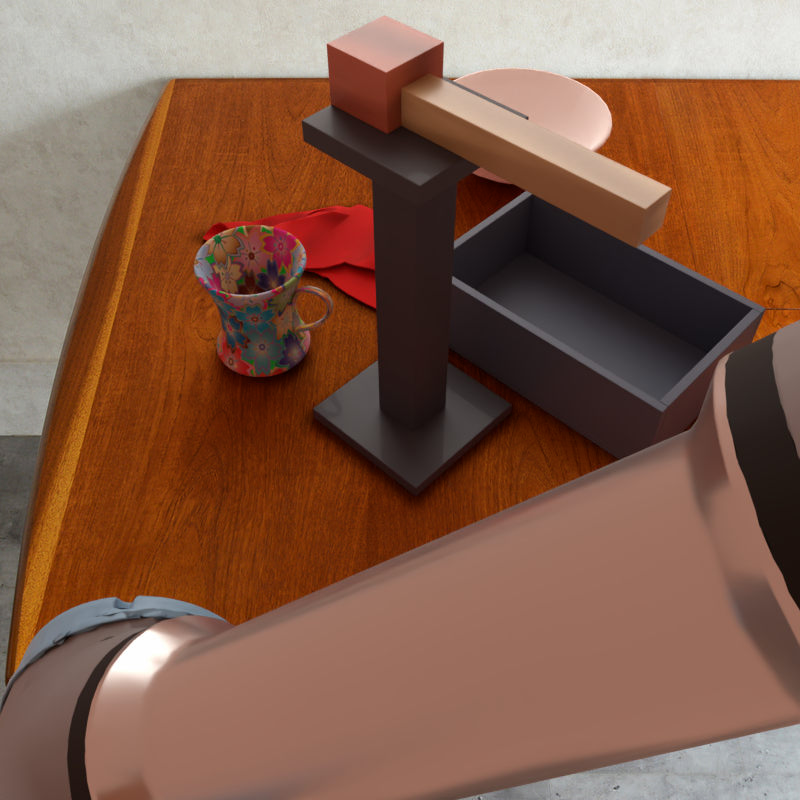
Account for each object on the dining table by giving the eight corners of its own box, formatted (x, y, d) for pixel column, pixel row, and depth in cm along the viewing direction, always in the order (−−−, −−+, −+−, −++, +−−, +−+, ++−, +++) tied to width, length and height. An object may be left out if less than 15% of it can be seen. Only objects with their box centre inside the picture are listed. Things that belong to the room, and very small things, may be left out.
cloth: (479, 246, 92) (481, 228, 90) (420, 330, 83) (420, 312, 82) (265, 178, 99) (262, 161, 98) (192, 249, 91) (188, 231, 90)
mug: (194, 369, 80) (171, 279, 72) (244, 304, 86) (228, 214, 78) (315, 407, 77) (304, 318, 69) (358, 337, 83) (354, 247, 75)
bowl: (392, 150, 103) (392, 100, 98) (527, 99, 110) (533, 50, 105) (497, 241, 92) (503, 190, 87) (640, 178, 99) (652, 127, 94)
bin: (641, 474, 72) (662, 412, 67) (419, 328, 84) (420, 264, 78) (739, 372, 80) (766, 308, 74) (523, 250, 91) (531, 186, 85)
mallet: (622, 260, 46) (637, 196, 43) (330, 104, 56) (326, 43, 53) (675, 216, 49) (692, 153, 46) (385, 74, 59) (384, 14, 56)
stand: (415, 497, 71) (420, 201, 50) (313, 417, 77) (277, 120, 55) (511, 413, 77) (552, 115, 55) (409, 345, 82) (411, 50, 61)
